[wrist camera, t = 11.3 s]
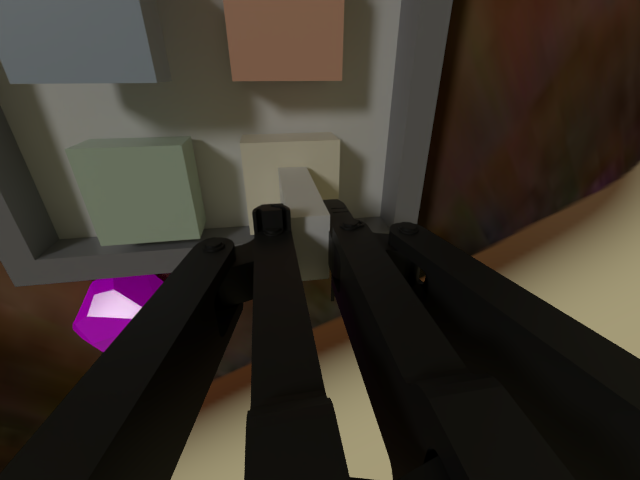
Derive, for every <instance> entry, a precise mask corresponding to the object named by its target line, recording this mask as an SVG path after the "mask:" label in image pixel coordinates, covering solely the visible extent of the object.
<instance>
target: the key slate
mask: <svg viewBox="0 0 640 480" xmlns="http://www.w3.org/2000/svg"><path fill="white" fill-rule="evenodd" d="M0 61H1V63H2V65H3V68H4V70H5V73H6V75H7V78H8V80H9V82H10V84H74V83H162V82H170V81H172V78H171V73H170V68H169V63H168V58H167V53H166V48H165V43H164V38H163V33H162V27H161V22H160V17H159V12H158V7H157V2H156V0H0Z"/></svg>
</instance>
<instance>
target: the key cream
mask: <svg viewBox="0 0 640 480" xmlns="http://www.w3.org/2000/svg"><path fill="white" fill-rule="evenodd" d="M240 150H241V159H242V168H243V176H244V185H245V193H246V202H247V210H248V219H249V227H250V235H254V226H253V217H252V211H253V209H255V208H256V207H258V206H260V205H262V204H278V203H280V190H279V175H278V168H283V167H305V166H306V167H307V169H308V171H309V173H310V175H311V177H312V179H313V182H314V184H315V186H316V188H317V190H318V192H319V194H320V196H321V198H322V200H329V199H338V200H339V167H340V139H338V138H337V137H336V136H335V135H334V134H333V133H331V132H315V133H281V134H247V135H242V136H241V140H240Z"/></svg>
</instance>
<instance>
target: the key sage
mask: <svg viewBox="0 0 640 480" xmlns="http://www.w3.org/2000/svg"><path fill="white" fill-rule="evenodd" d="M65 152H66V155H67V157H68V160H69V163H70V165H71V168H72V171H73V173H74V176H75V179H76V181H77V184H78V187H79V189H80V192H81V195H82V197H83V200H84V203H85V205H86V208H87V210H88V213H89V216H90V218H91V221H92V224H93V226H94V229H95V232H96V234H97V237H98V240H99V242H100V245H101V246H111V245H124V244H137V243H150V242H164V241H177V240H190V239H200V238H201V235H202V232H203V230H204V227H205V224H206V221H207V220H206V214H205V209H204V204H203V198H202V193H201V188H200V182H199V177H198V172H197V166H196V161H195V155H194V150H193V145H192V139H191V136H178V137H144V138H110V139H88V140H86V141H83V142H81V143H79V144H76V145H74V146H71V147H69V148H66V149H65Z"/></svg>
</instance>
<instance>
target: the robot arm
mask: <svg viewBox="0 0 640 480" xmlns="http://www.w3.org/2000/svg"><path fill="white" fill-rule="evenodd" d="M278 175H279V190H280V203H278V204H262V205H260V206H258V207H256V208H255V209H253V211H252V217H253V226H254V239H253V240H251V241H250V242H248V243H245V244H242V245H239V246H235V245H234V242H233V241H232V240H230V239H228V238H222V237H217V238H216V237H212V238H208V239H205V240H203V241H201V242H199V243H197V244H196V245H195V246H194V247H193V248H192V249H191V251H190V252H189V253H188V254H187V255H186V256H185V258H184V259H183V260H182V261H181V262H180V263H179V265H178V266H177V267H176V268H175V269H174V270H173V272H172V273H171V274H170V275H169V276H168V277H167V279H166V280H165V281H164V282H163V283H162V285H161V286H160V287H159V288H158V289H157V290H156V292H155V293H154V294H153V295H152V296H151V297H150V299H149V300H148V301H147V302H146V303H145V304H144V306H143V307H142V308H141V309H140V310H139V311H138V313H137V314H136V315H135V316H134V317H133V318H132V320H131V321H130V322H129V323H128V324H127V326H126V327H125V328H124V329H123V330H122V331H121V333H120V334H119V335H118V336H117V337H116V338H115V340H114V341H113V342H112V343H111V344H110V345H109V347H108V348H107V349H106V350H105V351H104V352H103V354H102V355H101V356H100V357H99V358H98V359H97V361H96V362H95V363H94V364H93V365H92V367H91V368H90V369H89V370H88V371H87V372H86V374H85V375H84V376H83V377H82V378H81V379H80V381H79V382H78V383H77V384H76V385H75V386H74V388H73V389H72V390H71V391H70V392H69V393H68V395H67V396H66V397H65V398H64V399H63V400H62V402H61V403H60V404H59V405H58V406H57V408H56V409H55V410H54V411H53V412H52V413H51V415H50V416H49V417H48V418H47V419H46V420H45V422H44V423H43V424H42V425H41V426H40V427H39V429H38V430H37V431H36V432H35V433H34V434H33V436H32V437H31V438H30V439H29V440H28V441H27V443H26V444H25V445H24V446H23V447H22V449H21V450H20V451H19V452H18V453H17V454H16V456H15V457H14V458H13V459H12V460H11V461H10V463H9V464H8V465H7V466H6V467H5V468H4V470H3V471H2V472H1V473H0V480H170V479H171V477H172V475H173V472H174V470H175V468H176V465H177V463H178V461H179V458H180V456H181V454H182V451H183V449H184V447H185V444H186V442H187V439H188V437H189V435H190V432H191V430H192V428H193V425H194V423H195V421H196V418H197V416H198V414H199V411H200V409H201V407H202V404H203V402H204V399H205V397H206V395H207V392H208V390H209V388H210V385H211V383H212V381H213V378H214V376H215V374H216V371H217V369H218V366H219V364H220V362H221V359H222V357H223V355H224V352H225V350H226V348H227V345H228V343H229V341H230V338H231V336H232V334H233V331H234V329H235V326H236V324H237V322H238V319H239V317H240V315H241V312H242V310H243V302H246V301H249V300H252V299H253V325H252V376H251V409H250V411H248V414H247V421H246V446H245V476H244V480H371V479H363V478H352V477H349V473H348V468H347V464H346V459H345V455H344V450H343V446H342V442H341V437H340V433H339V428H338V425H337V420H336V415H335V411H334V407H333V404H332V401H331V399H330V398H327V396H326V393H325V388H324V384H323V379H322V374H321V369H320V365H319V360H318V355H317V350H316V345H315V341H314V336H313V331H312V326H311V322H310V317H309V312H308V307H307V303H306V298H305V293H304V288H303V284H302V281H306V280H317V279H327V278H329V268H330V270H331V273H332V281H331V301H334V297H336V300H337V303H338V306H339V309H340V312H341V315H342V318H343V321H344V324H345V327H346V330H347V333H348V336H349V339H350V342H351V345H352V348H353V351H354V354H355V357H356V360H357V363H358V366H359V369H360V372H361V375H362V378H363V381H364V384H365V387H366V390H367V393H368V396H369V399H370V401H371V405H372V407H373V411H374V414H375V417H376V419H377V423H378V425H379V429H380V431H381V434H382V438H383V441H384V443H385V447H386V449H387V452H388V455H389V459H390V463H391V468H392V475H393V480H640V359H639V358H637V357H636V356H634V355H632V354H631V353H629V352H627V351H626V350H624V349H622V348H621V347H619V346H618V345H616V344H614V343H613V342H611V341H609V340H608V339H606V338H604V337H602V336H601V335H599V334H598V333H596V332H594V331H593V330H591V329H590V328H588V327H586V326H585V325H583V324H581V323H580V322H578V321H576V320H575V319H573V318H572V317H570V316H568V315H566V314H565V313H563V312H562V311H560V310H558V309H557V308H555V307H553V306H552V305H550V304H548V303H547V302H545V301H544V300H542V299H540V298H538V297H537V296H535V295H534V294H532V293H530V292H529V291H527V290H526V289H524V288H522V287H521V286H519V285H517V284H516V283H514V282H512V281H511V280H509V279H507V278H506V277H504V276H502V275H501V274H499V273H498V272H496V271H494V270H493V269H491V268H489V267H488V266H486V265H484V264H483V263H481V262H480V261H478V260H476V259H475V258H473V257H471V256H470V255H468V254H466V253H465V252H463V251H461V250H460V249H458V248H457V247H455V246H453V245H452V244H450V243H448V242H447V241H445V240H443V239H442V238H440V237H438V236H437V235H435V234H434V233H432V232H430V231H429V230H427V229H425V228H424V227H422V226H420V225H417V224H413V223H411V222H401V223H395V224H392V225H391V226H390V229H389V234H384V233H374V232H372V231H371V229H370V228H369V227H368V225H367V224H366V223H365V222H363V221H360V220H357V219H354V218H353V216H352V214H351V213H350V212H349V210H348V208H347V207H346V205H345V204H344V203H343V202H342V201H340V200H338V199H329V200H322V198H321V196H320V194H319V192H318V190H317V188H316V186H315V184H314V182H313V179H312V177H311V175H310V173H309V171H308V169H307V167H306V166H305V167H283V168H278ZM420 268H421V269H422V270H423V271H424V272H425V273H426V278H425V281H424V282H422V281H421V280H420V279H419V274H420Z"/></svg>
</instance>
